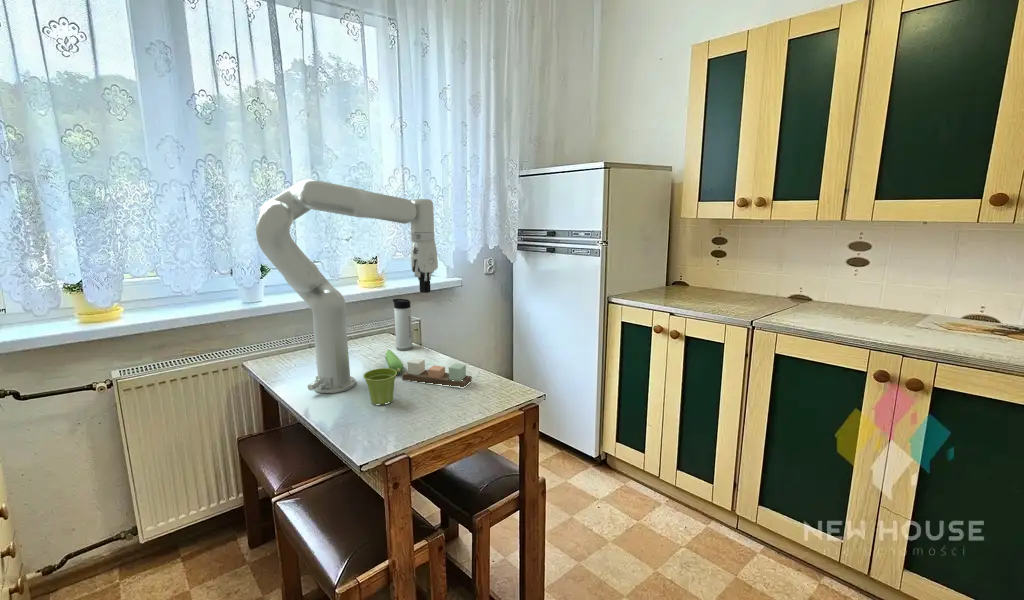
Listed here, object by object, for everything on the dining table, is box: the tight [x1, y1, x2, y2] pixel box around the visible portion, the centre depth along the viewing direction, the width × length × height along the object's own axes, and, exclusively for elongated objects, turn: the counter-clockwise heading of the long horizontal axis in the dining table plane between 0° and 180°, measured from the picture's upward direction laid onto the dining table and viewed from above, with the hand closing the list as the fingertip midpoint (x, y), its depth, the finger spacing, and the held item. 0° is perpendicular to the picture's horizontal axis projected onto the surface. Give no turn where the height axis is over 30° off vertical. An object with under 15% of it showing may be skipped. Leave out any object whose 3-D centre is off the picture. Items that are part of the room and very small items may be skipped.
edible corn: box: [384, 349, 404, 376], centre depth 171 cm, size 5×20×5 cm
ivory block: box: [407, 358, 426, 376], centre depth 160 cm, size 4×4×4 cm
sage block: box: [448, 363, 467, 382], centre depth 155 cm, size 4×4×4 cm
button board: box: [401, 369, 473, 387], centre depth 158 cm, size 6×22×2 cm, turn 70°
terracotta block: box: [427, 365, 446, 379], centre depth 158 cm, size 4×4×4 cm
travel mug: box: [392, 298, 414, 352], centre depth 190 cm, size 6×7×20 cm
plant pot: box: [362, 367, 397, 405], centre depth 142 cm, size 9×9×9 cm
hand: (425, 292), depth 164 cm, fingers closed
